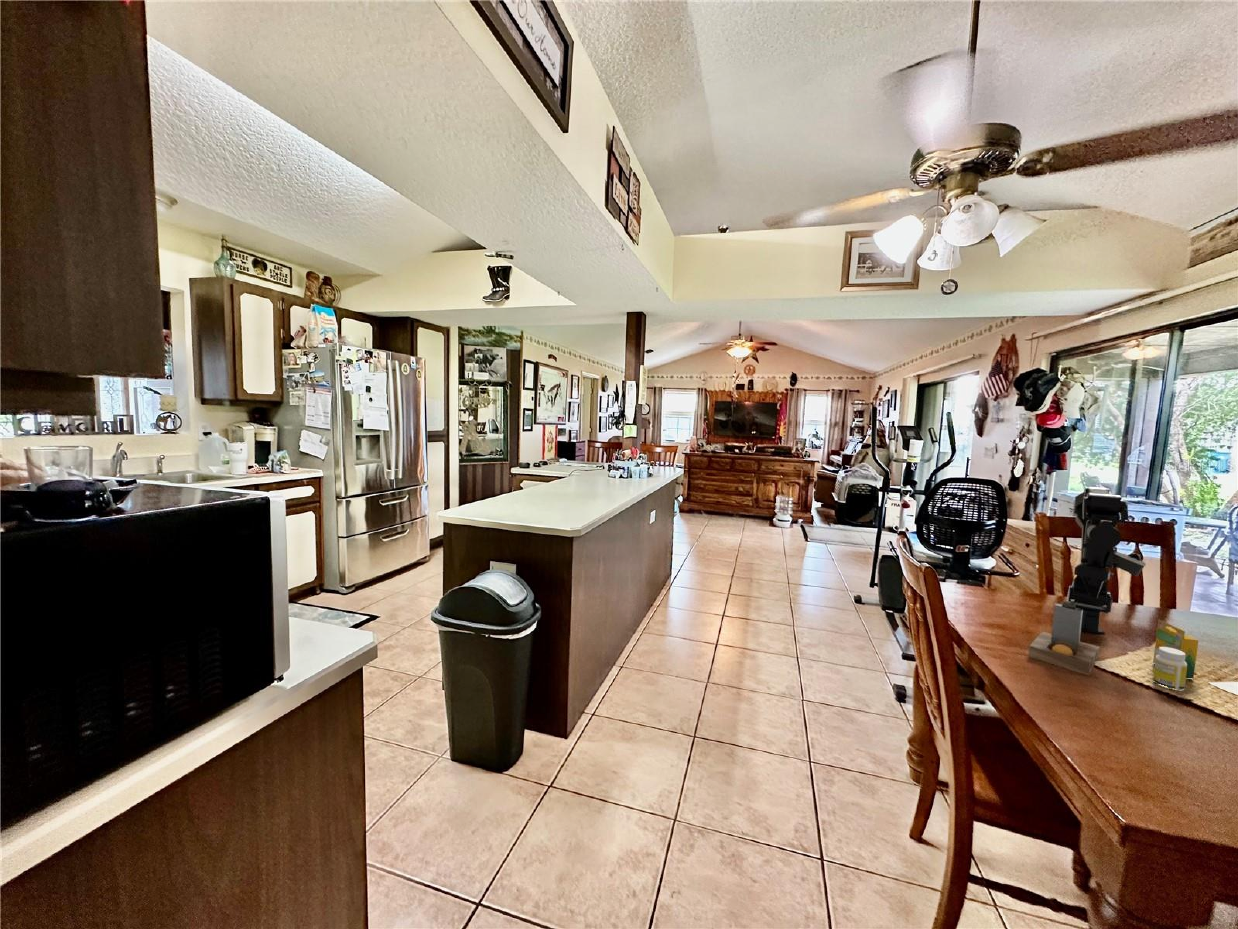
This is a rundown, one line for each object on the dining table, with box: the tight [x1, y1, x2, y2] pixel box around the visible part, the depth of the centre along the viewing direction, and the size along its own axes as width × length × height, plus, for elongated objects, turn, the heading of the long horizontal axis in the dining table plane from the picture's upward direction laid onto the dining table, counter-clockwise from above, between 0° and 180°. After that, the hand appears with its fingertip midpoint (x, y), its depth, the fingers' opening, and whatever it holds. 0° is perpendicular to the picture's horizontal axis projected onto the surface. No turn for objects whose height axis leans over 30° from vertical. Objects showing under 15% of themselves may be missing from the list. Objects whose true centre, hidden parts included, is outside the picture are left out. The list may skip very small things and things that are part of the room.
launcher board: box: [1027, 631, 1100, 676], centre depth 121 cm, size 14×11×3 cm
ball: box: [1052, 644, 1073, 655], centre depth 119 cm, size 4×4×4 cm
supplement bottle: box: [1152, 647, 1187, 690], centre depth 108 cm, size 5×5×8 cm
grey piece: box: [1051, 600, 1083, 650], centre depth 121 cm, size 2×5×11 cm, turn 38°
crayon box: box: [1152, 619, 1199, 679], centre depth 114 cm, size 7×3×12 cm, turn 166°
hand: (1093, 597), depth 128 cm, fingers closed
